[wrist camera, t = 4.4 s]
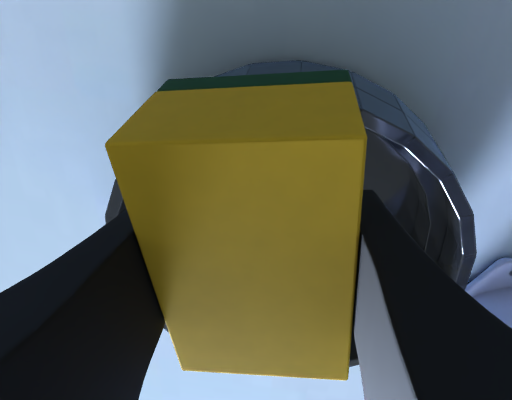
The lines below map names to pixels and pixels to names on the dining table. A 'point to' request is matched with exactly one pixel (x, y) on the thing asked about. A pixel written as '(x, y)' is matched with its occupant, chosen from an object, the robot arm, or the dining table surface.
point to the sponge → (250, 217)
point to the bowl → (394, 176)
